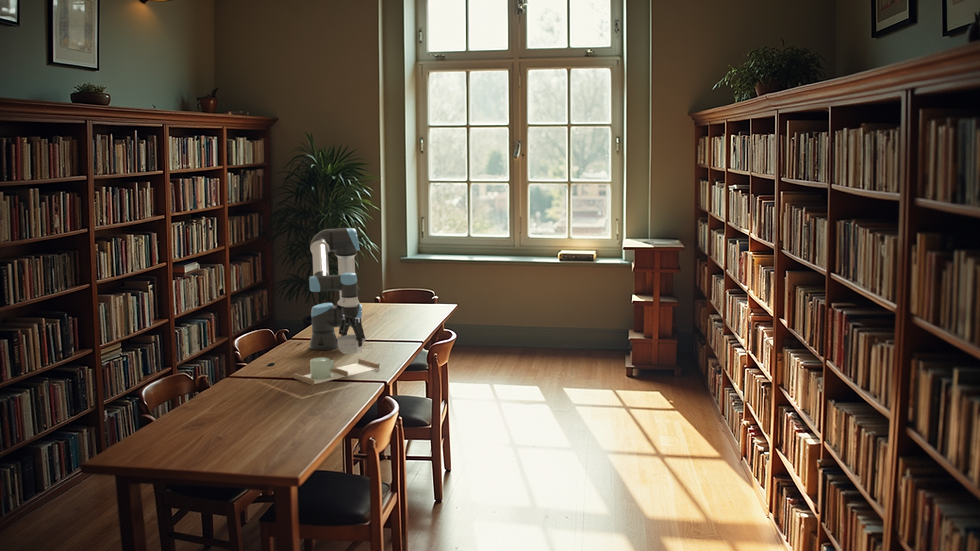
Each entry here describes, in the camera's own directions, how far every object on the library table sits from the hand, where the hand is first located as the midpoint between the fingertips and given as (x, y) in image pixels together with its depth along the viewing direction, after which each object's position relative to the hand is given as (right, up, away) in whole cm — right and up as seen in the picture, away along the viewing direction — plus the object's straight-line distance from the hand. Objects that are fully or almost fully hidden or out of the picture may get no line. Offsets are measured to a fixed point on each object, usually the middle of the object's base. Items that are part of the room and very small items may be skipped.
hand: (352, 351), depth 398 cm
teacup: (0, -1, 0) cm, 1 cm away
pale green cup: (-12, -11, -10) cm, 19 cm away
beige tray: (-6, -11, -5) cm, 13 cm away
